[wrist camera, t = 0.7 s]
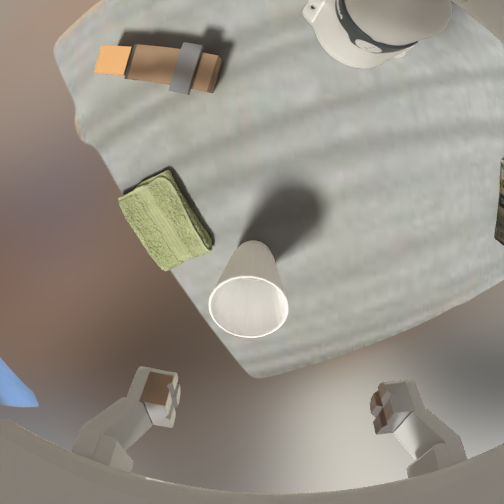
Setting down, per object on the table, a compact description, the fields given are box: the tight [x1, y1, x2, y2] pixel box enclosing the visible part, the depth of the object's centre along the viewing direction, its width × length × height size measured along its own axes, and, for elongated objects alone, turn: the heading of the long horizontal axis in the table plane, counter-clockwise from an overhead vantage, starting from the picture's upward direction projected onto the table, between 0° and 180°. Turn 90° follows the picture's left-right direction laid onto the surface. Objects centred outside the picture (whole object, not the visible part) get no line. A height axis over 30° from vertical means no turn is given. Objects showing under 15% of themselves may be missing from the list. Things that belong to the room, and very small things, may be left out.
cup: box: [209, 240, 289, 338], centre depth 49 cm, size 12×12×16 cm
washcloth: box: [118, 170, 212, 271], centre depth 53 cm, size 13×18×3 cm
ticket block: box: [124, 42, 223, 94], centre depth 38 cm, size 8×14×6 cm, turn 73°
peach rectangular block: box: [94, 45, 133, 76], centre depth 37 cm, size 5×6×5 cm
